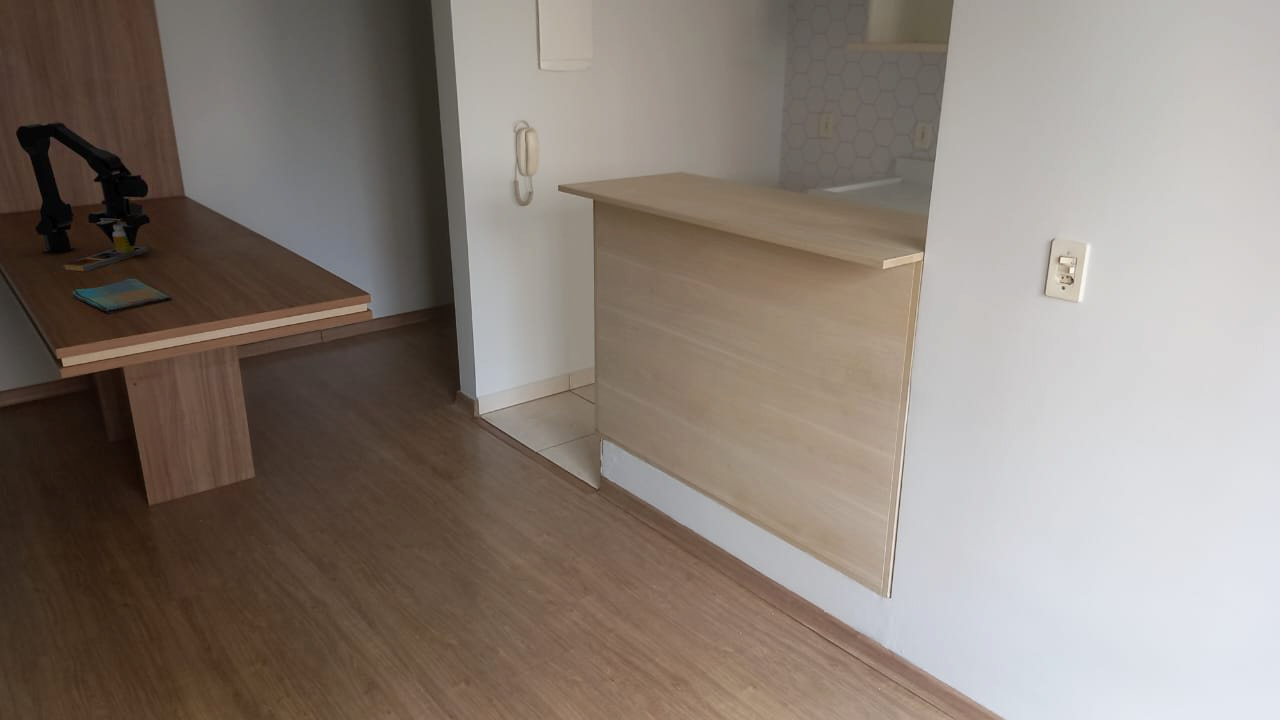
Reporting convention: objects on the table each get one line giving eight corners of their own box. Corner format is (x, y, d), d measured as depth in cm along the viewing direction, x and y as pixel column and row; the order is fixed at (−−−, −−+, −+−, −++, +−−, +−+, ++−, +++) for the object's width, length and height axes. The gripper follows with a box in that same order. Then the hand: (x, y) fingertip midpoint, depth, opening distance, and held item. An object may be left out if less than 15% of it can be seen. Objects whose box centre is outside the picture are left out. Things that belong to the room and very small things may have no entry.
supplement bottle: (127, 257, 285) (121, 226, 282) (112, 256, 286) (106, 226, 283) (139, 252, 290) (133, 223, 286) (125, 252, 291) (118, 222, 287)
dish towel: (137, 285, 259) (136, 276, 258) (174, 301, 245) (172, 292, 244) (72, 298, 247) (70, 289, 246) (106, 316, 232) (104, 307, 231)
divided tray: (63, 269, 271) (62, 264, 271) (125, 250, 293) (124, 245, 292) (86, 271, 269) (85, 266, 269) (147, 252, 291) (146, 247, 290)
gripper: (158, 193, 286) (167, 241, 292) (110, 189, 291) (120, 237, 297) (130, 200, 276) (140, 249, 282) (81, 196, 281) (92, 245, 287)
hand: (124, 245), depth 287 cm, fingers open, 6 cm apart
